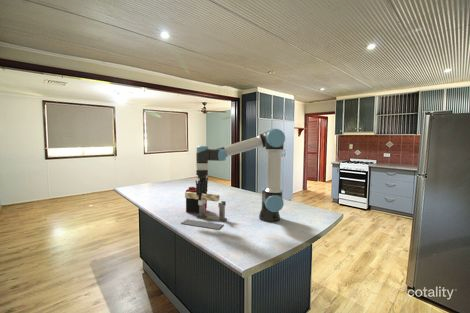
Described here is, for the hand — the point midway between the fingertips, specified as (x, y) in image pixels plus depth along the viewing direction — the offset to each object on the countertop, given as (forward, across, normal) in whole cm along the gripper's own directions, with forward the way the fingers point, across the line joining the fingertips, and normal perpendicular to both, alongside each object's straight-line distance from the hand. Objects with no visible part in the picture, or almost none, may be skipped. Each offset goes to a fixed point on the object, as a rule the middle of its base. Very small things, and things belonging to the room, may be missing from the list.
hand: (201, 204), depth 152 cm
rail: (-3, 0, 0) cm, 3 cm away
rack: (+14, -13, +1) cm, 19 cm away
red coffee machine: (+14, -24, -18) cm, 33 cm away
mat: (+14, 0, 0) cm, 14 cm away
